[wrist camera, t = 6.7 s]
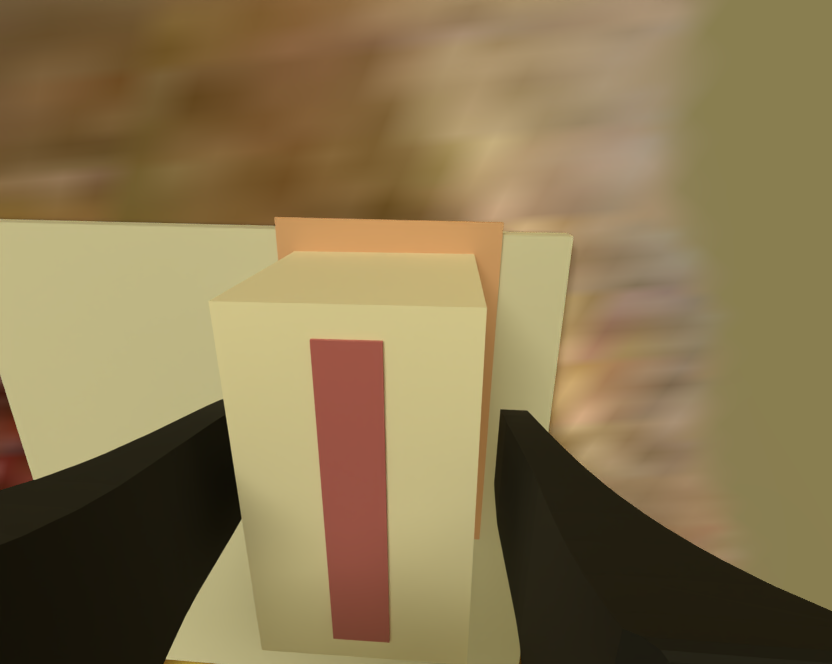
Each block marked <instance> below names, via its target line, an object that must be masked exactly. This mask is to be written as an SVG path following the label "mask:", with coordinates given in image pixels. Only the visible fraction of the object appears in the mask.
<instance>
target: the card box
mask: <svg viewBox="0 0 832 664" xmlns="http://www.w3.org/2000/svg"><path fill="white" fill-rule="evenodd" d="M208 302H209V309H210V315H211V322H212V328H213V335H214V342H215V348H216V355H217V361H218V368H219V374H220V381H221V387H222V394H223V400H224V407H225V413H226V420H227V426H228V433H229V439H230V446H231V452H232V459H233V465H234V472H235V478H236V485H237V491H238V498H239V504H240V511H241V517H242V524H243V530H244V537H245V543H246V550H247V556H248V563H249V569H250V576H251V582H252V589H253V595H254V602H255V608H256V615H257V621H258V628H259V634H260V641H261V648H262V650H267V651H281V652H295V653H309V654H322V655H336V656H350V657H363V658H377V659H391V660H405V661H418V662H432V663H446V664H467V653H468V635H469V618H470V600H471V582H472V564H473V546H474V529H475V511H476V493H477V475H478V458H479V440H480V422H481V404H482V386H483V369H484V351H485V333H486V315H487V306H486V302H485V297H484V293H483V289H482V285H481V281H480V276H479V272H478V268H477V264H476V259H475V255H474V254H443V253H380V252H316V251H294V252H292V253H291V254H289V255H287V256H285V257H284V258H282V259H280V260H278V261H277V262H275V263H273V264H272V265H270V266H268V267H266V268H265V269H263V270H261V271H260V272H258V273H256V274H254V275H253V276H251V277H249V278H247V279H246V280H244V281H242V282H241V283H239V284H237V285H235V286H234V287H232V288H230V289H229V290H227V291H225V292H223V293H222V294H220V295H218V296H216V297H215V298H213V299H211V300H210V301H208Z"/></svg>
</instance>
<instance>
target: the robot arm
mask: <svg viewBox="0 0 832 664" xmlns="http://www.w3.org/2000/svg"><path fill="white" fill-rule="evenodd" d="M494 492H495V506H496V518H497V527H498V532H499V537H500V542H501V547H502V552H503V558H504V563H505V568H506V573H507V578H508V583H509V588H510V593H511V598H512V603H513V608H514V613H515V618H516V624H517V630H518V637H519V643H520V653H521V663H522V664H832V611H830V610H828V609H826V608H823V607H821V606H819V605H816V604H814V603H812V602H810V601H807V600H805V599H803V598H800V597H798V596H796V595H793V594H791V593H789V592H787V591H784V590H782V589H780V588H777V587H775V586H773V585H771V584H769V583H767V582H765V581H763V580H761V579H759V578H757V577H755V576H753V575H751V574H749V573H747V572H745V571H743V570H741V569H739V568H737V567H735V566H733V565H731V564H729V563H727V562H725V561H723V560H721V559H719V558H717V557H716V556H714V555H712V554H710V553H708V552H706V551H704V550H703V549H701V548H699V547H697V546H696V545H694V544H692V543H691V542H689V541H687V540H686V539H684V538H682V537H681V536H679V535H677V534H676V533H674V532H672V531H671V530H669V529H667V528H666V527H664V526H662V525H661V524H659V523H658V522H656V521H655V520H653V519H651V518H650V517H648V516H647V515H645V514H644V513H643V512H641V511H640V510H638V509H637V508H636V507H634V506H633V505H631V504H630V503H629V502H627V501H626V500H624V499H623V498H622V497H620V496H619V495H617V494H616V493H615V492H614V491H612V490H611V489H610V488H608V487H607V486H606V485H605V484H604V483H602V482H601V481H600V480H599V479H598V478H596V477H595V476H594V475H593V474H592V473H591V472H589V471H588V470H587V469H586V468H585V467H584V466H582V465H581V464H580V463H579V462H578V461H577V460H576V459H575V458H574V457H573V456H572V455H571V454H569V453H568V452H567V451H566V450H565V449H564V448H563V447H562V446H561V445H560V444H559V443H558V442H557V441H556V440H555V439H554V438H553V437H552V436H551V435H550V434H549V433H548V432H547V430H546V429H545V428H544V427H543V426H542V425H541V424H540V423H539V422H538V421H537V420H536V419H535V418H534V417H533V416H532V415H531V414H530V413H529V412H528V411H527V410H507V409H500V419H499V431H498V442H497V454H496V466H495V477H494ZM241 519H242V517H241V511H240V504H239V498H238V491H237V485H236V478H235V472H234V465H233V459H232V452H231V446H230V439H229V433H228V426H227V420H226V413H225V407H224V400H223V399H221V400H219V401H216V402H214V403H212V404H210V405H207V406H205V407H203V408H201V409H199V410H197V411H195V412H193V413H191V414H189V415H187V416H184V417H182V418H180V419H178V420H176V421H174V422H172V423H170V424H168V425H166V426H164V427H162V428H160V429H158V430H156V431H154V432H151V433H149V434H147V435H145V436H143V437H140V438H138V439H136V440H134V441H132V442H129V443H127V444H125V445H123V446H120V447H118V448H116V449H114V450H111V451H109V452H107V453H105V454H102V455H100V456H97V457H95V458H93V459H90V460H88V461H85V462H82V463H80V464H77V465H75V466H72V467H69V468H66V469H64V470H61V471H58V472H56V473H53V474H50V475H47V476H44V477H41V478H39V479H36V480H32V481H29V482H26V483H23V484H19V485H16V486H13V487H10V488H6V489H3V490H0V664H163V663H164V661H165V659H166V657H167V655H168V653H169V651H170V648H171V646H172V644H173V642H174V640H175V638H176V636H177V633H178V631H179V629H180V627H181V625H182V623H183V621H184V618H185V616H186V614H187V613H188V611H189V609H190V607H191V605H192V603H193V601H194V600H195V598H196V596H197V594H198V592H199V591H200V589H201V587H202V586H203V584H204V582H205V581H206V579H207V577H208V576H209V574H210V572H211V570H212V569H213V567H214V565H215V564H216V562H217V560H218V559H219V557H220V555H221V554H222V552H223V550H224V549H225V547H226V545H227V544H228V542H229V540H230V538H231V537H232V535H233V533H234V532H235V530H236V528H237V526H238V525H239V523H240V521H241Z"/></svg>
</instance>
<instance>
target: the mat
mask: <svg viewBox="0 0 832 664" xmlns="http://www.w3.org/2000/svg"><path fill="white" fill-rule="evenodd" d="M274 218H275V226H260V225H219V224H179V223H138V222H97V221H57V220H16V219H0V375H1V378H2V382H3V385H4V388H5V391H6V394H7V397H8V401H9V404H10V407H11V410H12V413H13V416H14V420H15V423H16V426H17V429H18V432H19V435H20V439H21V442H22V445H23V448H24V451H25V454H26V458H27V461H28V464H29V467H30V470H31V473H32V477H33V480H36V479H39V478H41V477H44V476H47V475H50V474H53V473H56V472H58V471H61V470H64V469H66V468H69V467H72V466H75V465H77V464H80V463H82V462H85V461H88V460H90V459H93V458H95V457H97V456H100V455H102V454H105V453H107V452H109V451H111V450H114V449H116V448H118V447H120V446H123V445H125V444H127V443H129V442H132V441H134V440H136V439H138V438H140V437H143V436H145V435H147V434H149V433H151V432H154V431H156V430H158V429H160V428H162V427H164V426H166V425H168V424H170V423H172V422H174V421H176V420H178V419H180V418H182V417H184V416H187V415H189V414H191V413H193V412H195V411H197V410H199V409H201V408H203V407H205V406H207V405H210V404H212V403H214V402H216V401H219V400H221V399H223V394H222V387H221V381H220V374H219V368H218V361H217V355H216V348H215V342H214V335H213V328H212V322H211V315H210V309H209V302H208V301H210V300H211V299H213V298H215V297H216V296H218V295H220V294H222V293H223V292H225V291H227V290H229V289H230V288H232V287H234V286H235V285H237V284H239V283H241V282H242V281H244V280H246V279H247V278H249V277H251V276H253V275H254V274H256V273H258V272H260V271H261V270H263V269H265V268H266V267H268V266H270V265H272V264H273V263H275V262H277V261H278V260H280V259H282V258H284V257H285V256H287V255H289V254H291V253H292V252H294V251H316V252H380V253H443V254H474V255H475V259H476V264H477V268H478V272H479V276H480V281H481V285H482V289H483V293H484V297H485V302H486V306H487V315H486V333H485V351H484V369H483V386H482V404H481V422H480V440H479V458H478V475H477V493H476V511H475V529H474V546H473V564H472V582H471V600H470V618H469V635H468V653H467V664H519V659H520V643H519V637H518V630H517V624H516V618H515V613H514V608H513V603H512V598H511V593H510V588H509V583H508V578H507V573H506V568H505V563H504V558H503V552H502V547H501V542H500V537H499V532H498V527H497V518H496V506H495V492H494V477H495V466H496V454H497V442H498V431H499V419H500V409H507V410H527V411H528V412H529V413H530V414H531V415H532V416H533V417H534V418H535V419H536V420H537V421H538V422H539V423H540V424H541V425H542V426H543V427H544V428H545V429H546V430H547V432H549V424H550V416H551V408H552V401H553V393H554V385H555V377H556V369H557V361H558V353H559V346H560V338H561V330H562V322H563V314H564V306H565V299H566V291H567V283H568V275H569V267H570V259H571V251H572V244H573V236H572V235H570V234H568V233H545V232H504V231H503V225H504V223H503V222H468V221H425V220H382V219H339V218H297V217H274ZM166 659H170V660H182V661H193V662H205V663H217V664H446V663H432V662H418V661H405V660H391V659H377V658H363V657H350V656H336V655H322V654H309V653H295V652H281V651H267V650H262V648H261V641H260V634H259V628H258V621H257V615H256V608H255V602H254V595H253V589H252V582H251V576H250V569H249V563H248V556H247V550H246V543H245V537H244V530H243V524H242V519H241V521H240V523H239V525H238V526H237V528H236V530H235V532H234V533H233V535H232V537H231V538H230V540H229V542H228V544H227V545H226V547H225V549H224V550H223V552H222V554H221V555H220V557H219V559H218V560H217V562H216V564H215V565H214V567H213V569H212V570H211V572H210V574H209V576H208V577H207V579H206V581H205V582H204V584H203V586H202V587H201V589H200V591H199V592H198V594H197V596H196V598H195V600H194V601H193V603H192V605H191V607H190V609H189V611H188V613H187V614H186V616H185V618H184V621H183V623H182V625H181V627H180V629H179V631H178V633H177V636H176V638H175V640H174V642H173V644H172V646H171V648H170V651H169V653H168V655H167V657H166Z"/></svg>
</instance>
